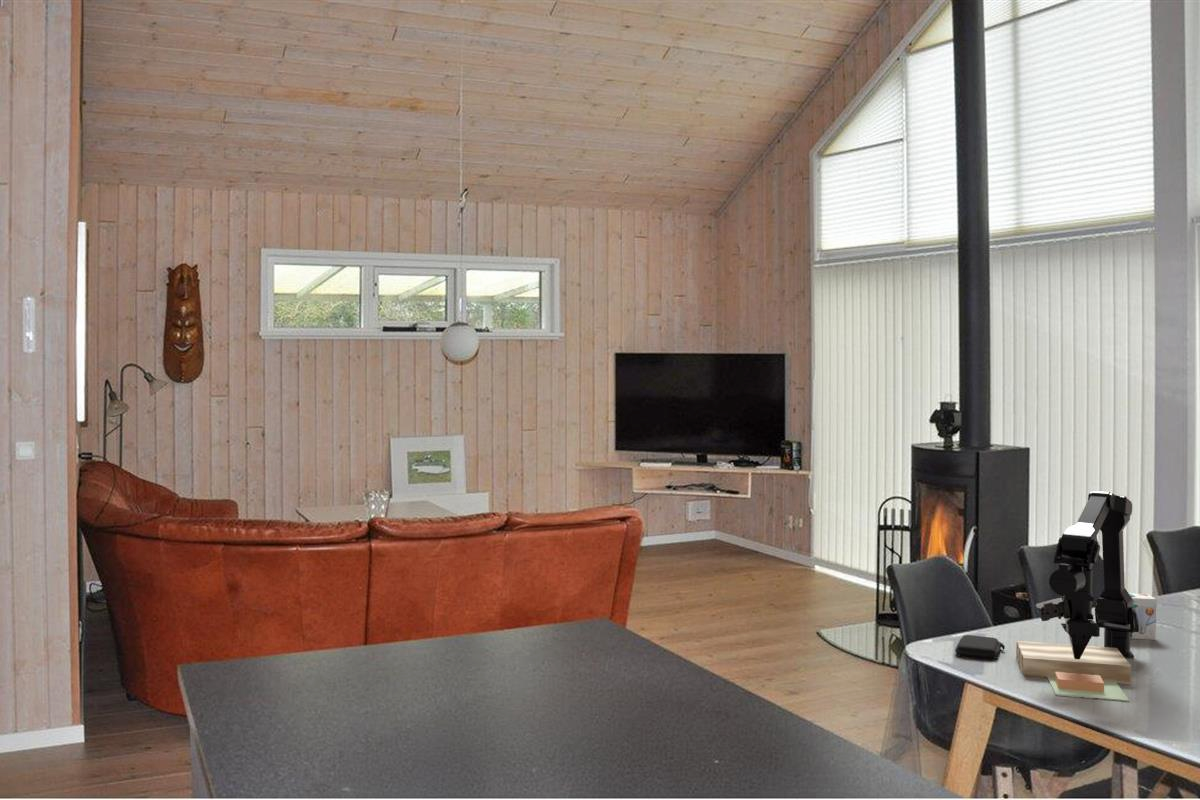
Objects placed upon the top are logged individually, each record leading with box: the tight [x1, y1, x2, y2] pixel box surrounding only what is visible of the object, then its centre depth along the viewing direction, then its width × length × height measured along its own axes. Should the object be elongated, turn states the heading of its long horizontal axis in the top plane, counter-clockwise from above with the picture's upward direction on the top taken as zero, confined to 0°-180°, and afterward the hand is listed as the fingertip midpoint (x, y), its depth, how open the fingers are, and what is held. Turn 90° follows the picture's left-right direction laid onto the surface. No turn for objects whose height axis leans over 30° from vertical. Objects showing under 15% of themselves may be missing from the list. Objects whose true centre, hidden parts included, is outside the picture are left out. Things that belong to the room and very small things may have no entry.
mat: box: [1046, 676, 1130, 703], centre depth 222 cm, size 14×14×1 cm
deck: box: [1015, 640, 1132, 685], centre depth 236 cm, size 16×22×4 cm
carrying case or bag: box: [954, 634, 1006, 661], centre depth 252 cm, size 11×3×15 cm
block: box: [1055, 672, 1104, 692], centre depth 223 cm, size 6×9×2 cm, turn 72°
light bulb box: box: [1128, 592, 1158, 640], centre depth 269 cm, size 11×7×11 cm, turn 80°
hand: (1076, 658), depth 228 cm, fingers closed
